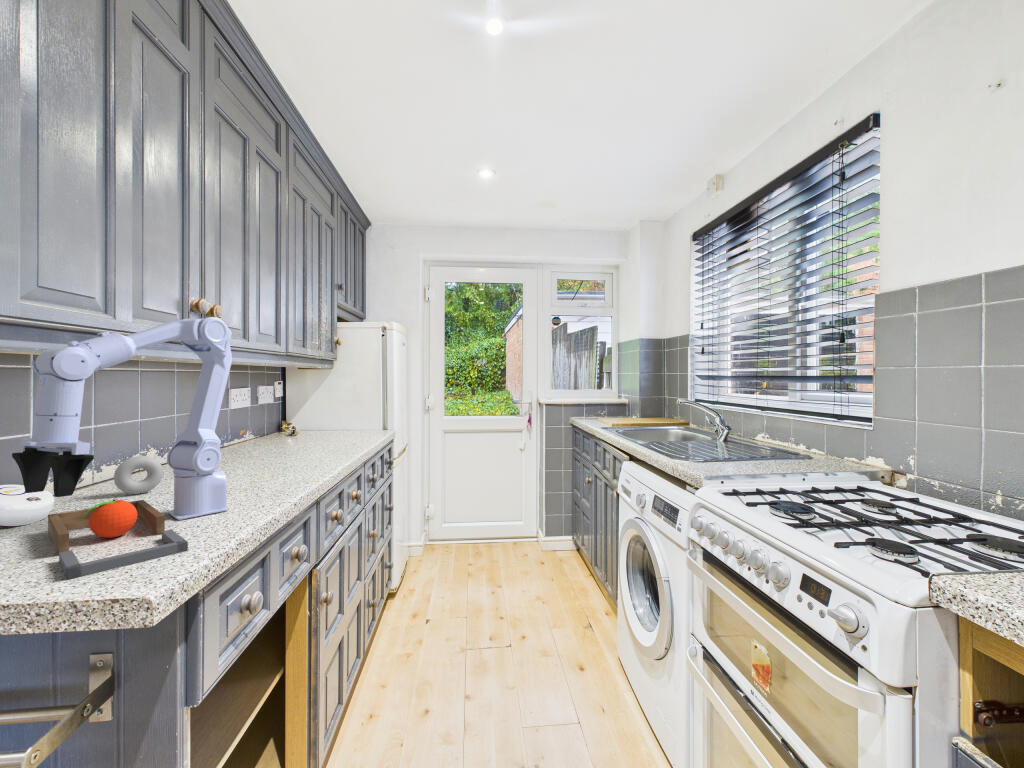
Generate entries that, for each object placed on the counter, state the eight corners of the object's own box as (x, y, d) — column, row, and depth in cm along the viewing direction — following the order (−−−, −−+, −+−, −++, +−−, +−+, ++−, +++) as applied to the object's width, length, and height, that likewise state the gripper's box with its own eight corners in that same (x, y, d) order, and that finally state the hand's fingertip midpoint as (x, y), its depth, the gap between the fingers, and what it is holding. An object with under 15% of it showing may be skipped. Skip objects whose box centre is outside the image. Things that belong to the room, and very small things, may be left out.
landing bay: (171, 537, 84) (171, 529, 84) (187, 550, 78) (187, 541, 78) (59, 561, 72) (59, 552, 72) (67, 579, 66) (67, 569, 66)
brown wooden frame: (142, 515, 97) (142, 499, 97) (164, 533, 86) (164, 515, 86) (48, 532, 85) (48, 514, 85) (59, 555, 75) (59, 535, 75)
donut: (114, 498, 110) (114, 459, 110) (112, 496, 112) (112, 457, 112) (164, 491, 117) (164, 454, 117) (161, 489, 119) (162, 452, 119)
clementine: (88, 548, 78) (88, 508, 78) (75, 540, 82) (75, 502, 82) (143, 534, 85) (143, 498, 85) (129, 528, 89) (129, 493, 89)
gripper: (0, 413, 75) (-10, 493, 74) (56, 417, 71) (46, 502, 70) (53, 414, 82) (44, 487, 81) (107, 417, 78) (98, 495, 77)
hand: (48, 494), depth 76 cm, fingers open, 7 cm apart
